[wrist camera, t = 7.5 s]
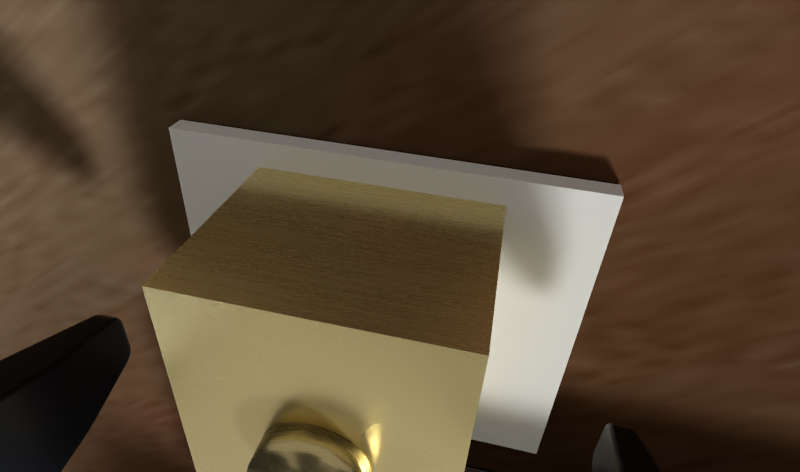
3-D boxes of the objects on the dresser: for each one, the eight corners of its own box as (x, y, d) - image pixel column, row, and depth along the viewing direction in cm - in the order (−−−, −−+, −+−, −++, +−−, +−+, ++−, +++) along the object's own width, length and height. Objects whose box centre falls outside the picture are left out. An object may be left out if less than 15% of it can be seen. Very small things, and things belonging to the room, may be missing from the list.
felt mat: (229, 370, 14) (221, 382, 14) (180, 119, 10) (168, 127, 10) (536, 439, 13) (536, 454, 12) (620, 184, 9) (623, 197, 8)
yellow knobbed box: (283, 383, 13) (197, 549, 10) (259, 166, 10) (116, 312, 6) (463, 424, 12) (435, 616, 9) (505, 206, 9) (485, 389, 6)
